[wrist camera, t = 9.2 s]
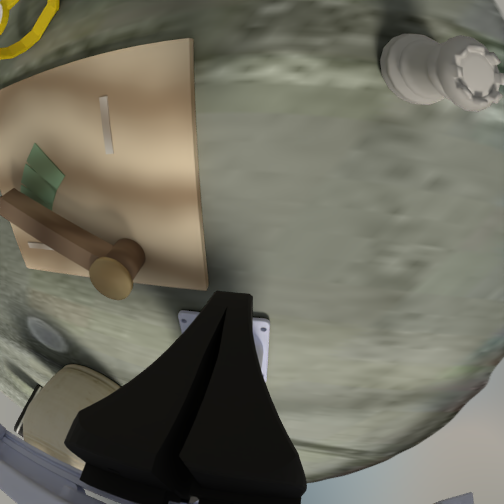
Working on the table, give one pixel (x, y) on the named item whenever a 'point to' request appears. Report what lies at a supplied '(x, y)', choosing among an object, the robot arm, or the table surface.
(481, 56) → the rook chess piece
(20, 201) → the peg lever
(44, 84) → the tan wooden board
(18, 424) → the battery charger
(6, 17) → the watch
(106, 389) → the jug
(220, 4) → the table surface
